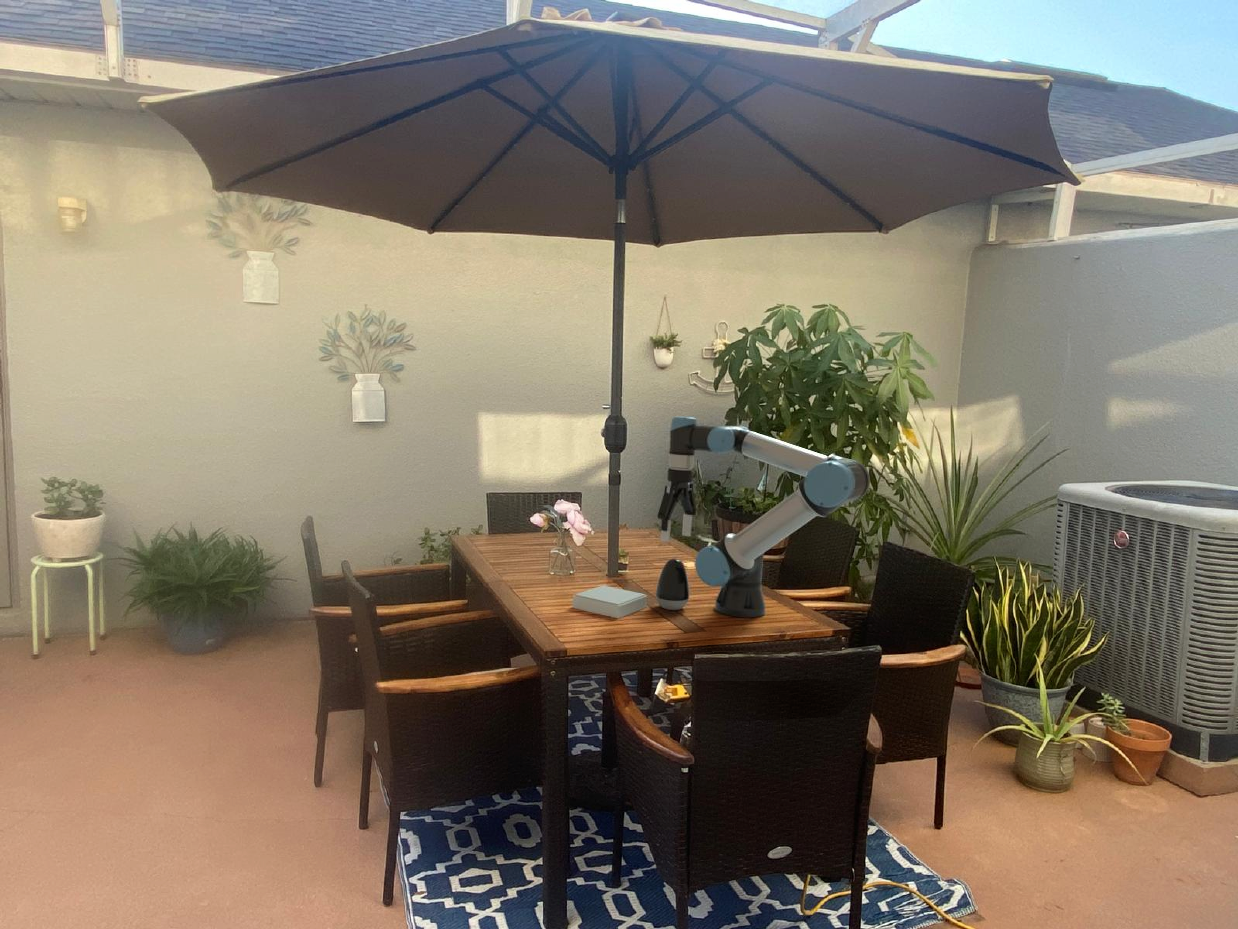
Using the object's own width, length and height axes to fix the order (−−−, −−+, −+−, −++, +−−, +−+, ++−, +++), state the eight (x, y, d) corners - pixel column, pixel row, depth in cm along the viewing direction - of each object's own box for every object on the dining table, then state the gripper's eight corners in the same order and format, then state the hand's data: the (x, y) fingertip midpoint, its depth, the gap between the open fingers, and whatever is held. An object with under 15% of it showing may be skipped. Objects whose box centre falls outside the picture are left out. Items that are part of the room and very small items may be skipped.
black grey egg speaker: (661, 613, 246) (664, 562, 244) (650, 603, 255) (653, 555, 254) (693, 612, 248) (697, 562, 247) (681, 603, 258) (685, 555, 257)
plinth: (646, 607, 251) (647, 594, 250) (618, 618, 237) (618, 604, 237) (602, 597, 259) (602, 584, 259) (572, 607, 246) (573, 594, 245)
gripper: (688, 464, 260) (684, 531, 262) (648, 469, 239) (644, 542, 241) (710, 467, 256) (705, 535, 258) (671, 472, 235) (666, 546, 237)
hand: (675, 538), depth 250 cm, fingers open, 13 cm apart
